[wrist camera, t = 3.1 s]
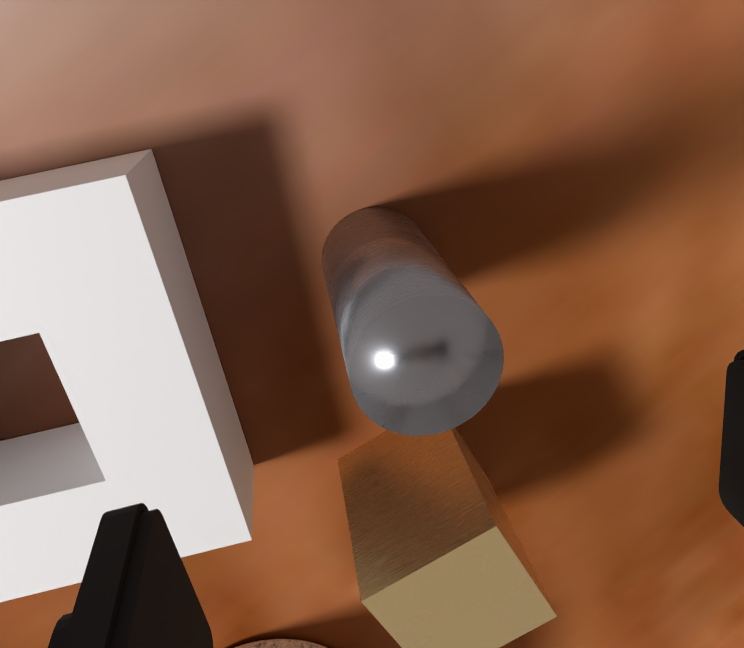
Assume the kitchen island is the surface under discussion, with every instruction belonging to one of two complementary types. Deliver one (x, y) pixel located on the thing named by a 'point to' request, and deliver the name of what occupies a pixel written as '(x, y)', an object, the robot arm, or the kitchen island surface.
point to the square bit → (436, 545)
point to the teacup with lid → (281, 644)
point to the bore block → (112, 374)
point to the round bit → (407, 326)
